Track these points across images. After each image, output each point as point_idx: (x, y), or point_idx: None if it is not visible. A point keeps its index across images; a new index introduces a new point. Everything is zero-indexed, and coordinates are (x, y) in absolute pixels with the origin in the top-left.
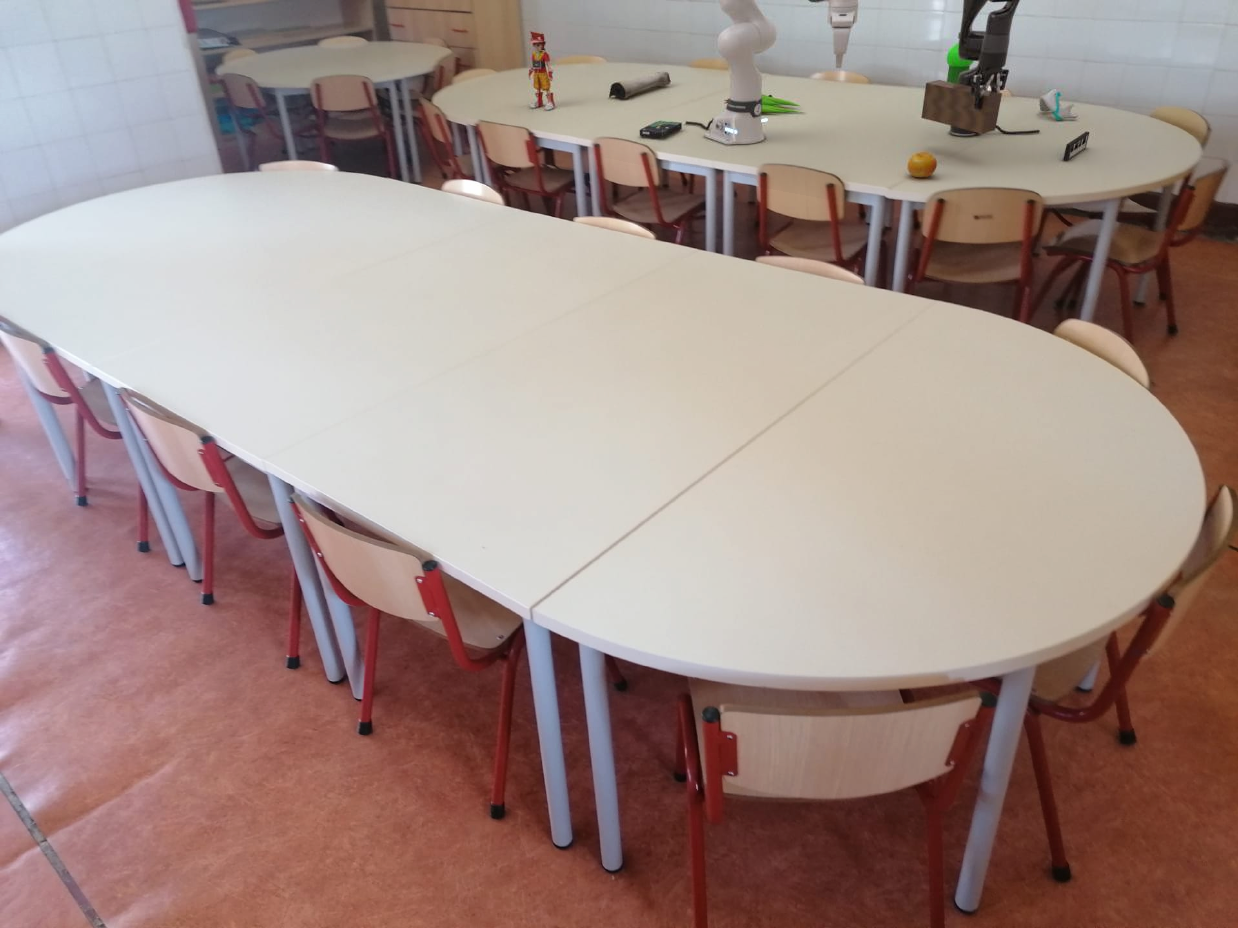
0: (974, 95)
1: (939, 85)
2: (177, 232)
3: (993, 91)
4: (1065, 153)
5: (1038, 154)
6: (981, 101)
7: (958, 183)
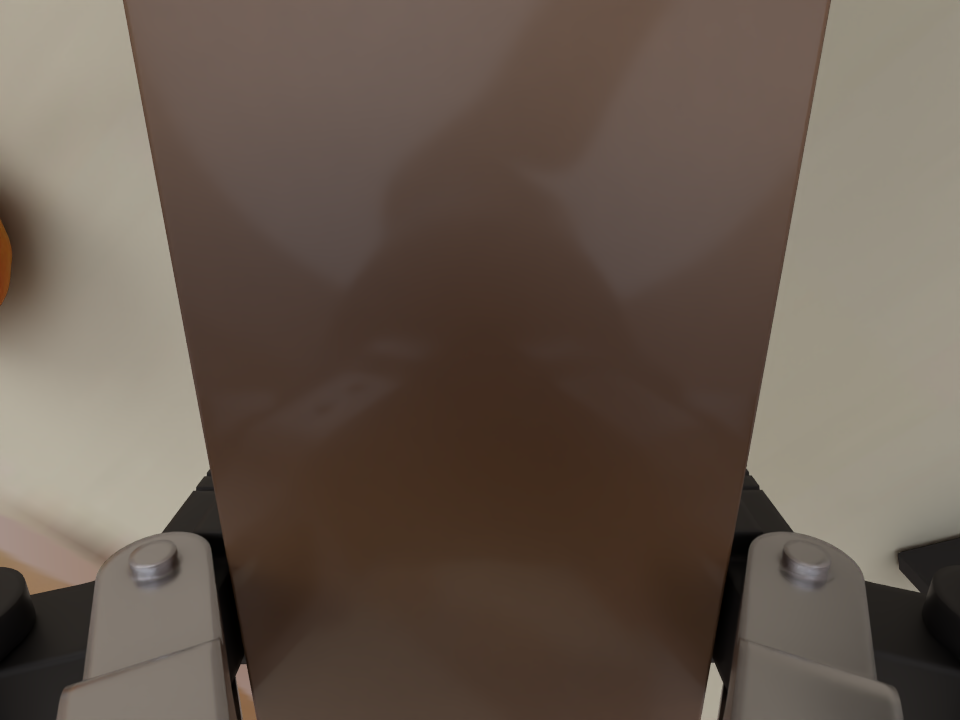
0: (48, 615)
1: None
2: None
3: (716, 631)
4: (925, 584)
5: (947, 388)
6: None
7: (98, 466)
